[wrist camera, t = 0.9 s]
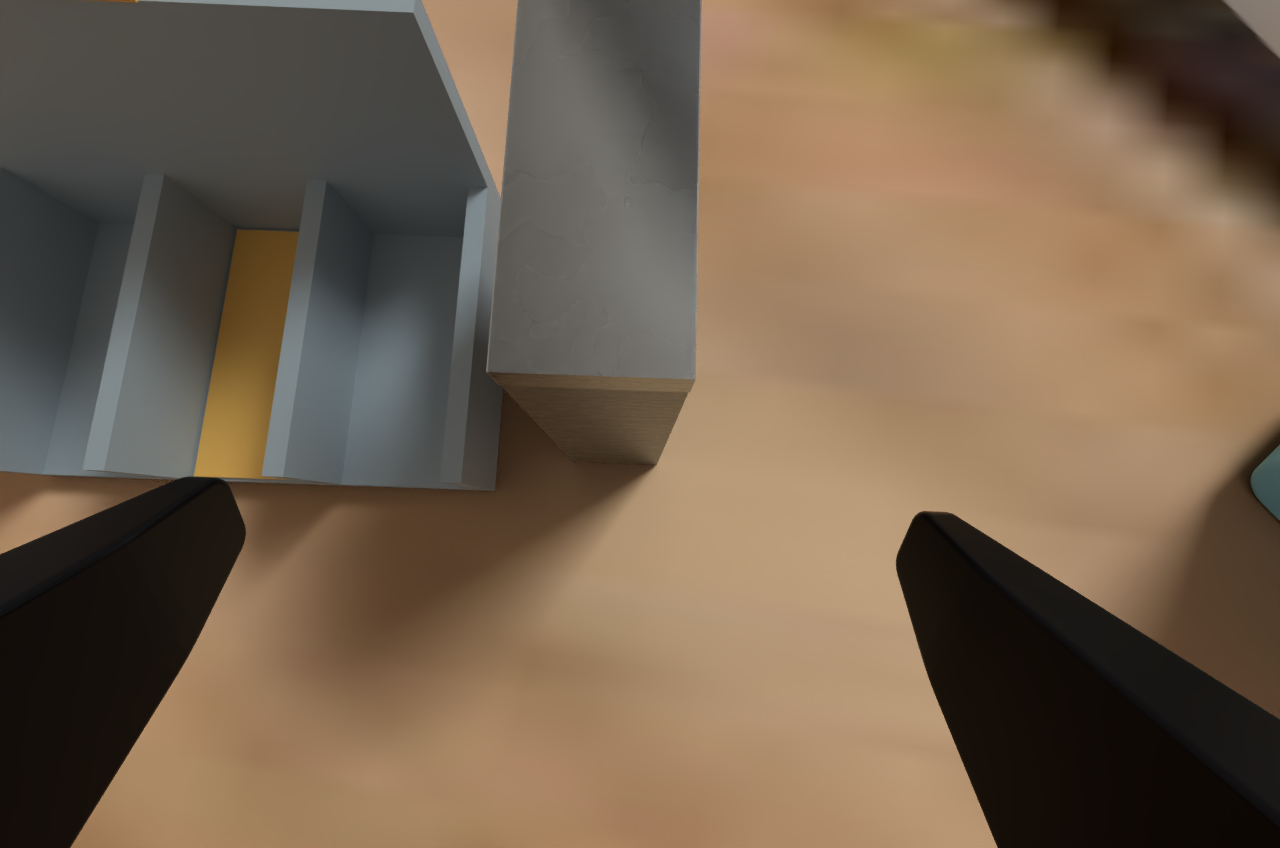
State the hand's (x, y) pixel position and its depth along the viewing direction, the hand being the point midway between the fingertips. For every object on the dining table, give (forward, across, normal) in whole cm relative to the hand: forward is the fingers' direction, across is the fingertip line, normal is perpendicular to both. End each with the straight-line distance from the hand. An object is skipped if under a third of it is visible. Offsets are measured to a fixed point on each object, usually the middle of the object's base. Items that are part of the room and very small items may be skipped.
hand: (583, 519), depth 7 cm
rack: (+13, +11, +5) cm, 18 cm away
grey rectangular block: (+13, -1, +4) cm, 14 cm away
